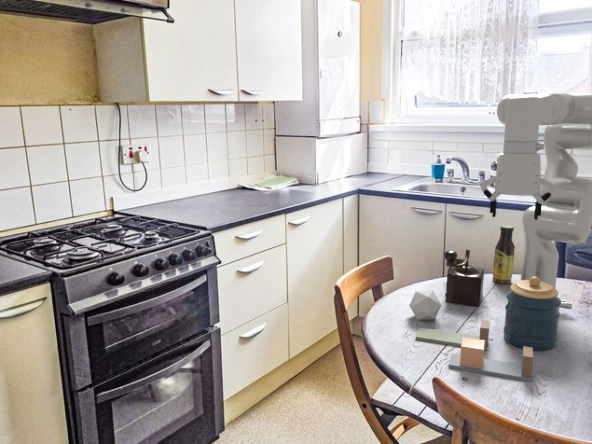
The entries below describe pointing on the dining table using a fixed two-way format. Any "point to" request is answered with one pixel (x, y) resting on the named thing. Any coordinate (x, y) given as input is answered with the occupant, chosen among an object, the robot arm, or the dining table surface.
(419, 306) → the die
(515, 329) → the canister
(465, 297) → the manual coffee grinder
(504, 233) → the sauce bottle
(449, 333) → the empty strip
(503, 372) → the cargo strip
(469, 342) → the terracotta block
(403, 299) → the dining table surface
